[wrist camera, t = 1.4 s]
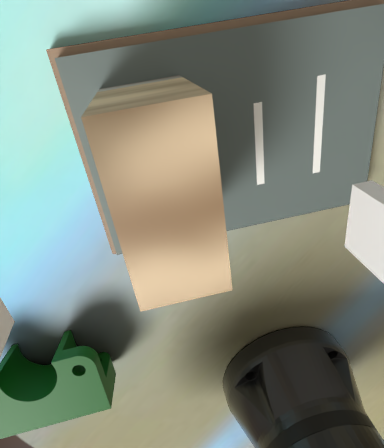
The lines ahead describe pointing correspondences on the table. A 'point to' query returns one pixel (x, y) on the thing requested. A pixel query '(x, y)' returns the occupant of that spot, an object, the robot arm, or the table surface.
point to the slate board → (255, 101)
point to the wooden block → (162, 187)
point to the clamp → (53, 387)
